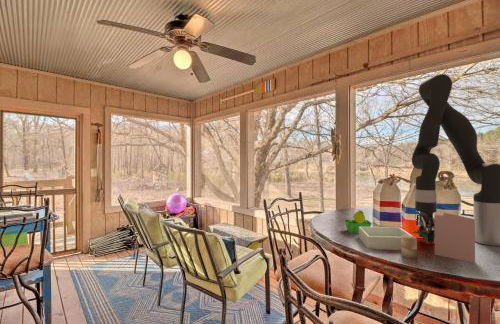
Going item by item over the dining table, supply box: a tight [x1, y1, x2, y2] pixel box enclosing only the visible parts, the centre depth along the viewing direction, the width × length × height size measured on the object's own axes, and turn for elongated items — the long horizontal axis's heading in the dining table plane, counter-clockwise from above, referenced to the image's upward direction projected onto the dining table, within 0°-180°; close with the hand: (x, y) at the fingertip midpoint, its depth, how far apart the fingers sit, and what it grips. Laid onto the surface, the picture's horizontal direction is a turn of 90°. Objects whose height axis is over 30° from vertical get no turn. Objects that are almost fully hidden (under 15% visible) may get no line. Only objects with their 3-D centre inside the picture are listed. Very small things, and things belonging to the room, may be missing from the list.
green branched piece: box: [411, 227, 435, 245], centre depth 111 cm, size 3×12×8 cm, turn 89°
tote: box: [358, 226, 413, 251], centre depth 112 cm, size 18×16×5 cm
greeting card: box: [433, 212, 476, 263], centre depth 95 cm, size 11×7×15 cm, turn 12°
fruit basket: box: [344, 210, 372, 234], centre depth 130 cm, size 11×9×11 cm
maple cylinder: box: [400, 235, 418, 260], centre depth 97 cm, size 5×5×7 cm
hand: (426, 239), depth 111 cm, fingers open, 6 cm apart
